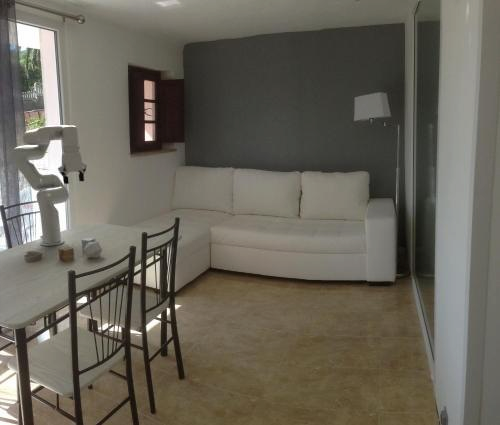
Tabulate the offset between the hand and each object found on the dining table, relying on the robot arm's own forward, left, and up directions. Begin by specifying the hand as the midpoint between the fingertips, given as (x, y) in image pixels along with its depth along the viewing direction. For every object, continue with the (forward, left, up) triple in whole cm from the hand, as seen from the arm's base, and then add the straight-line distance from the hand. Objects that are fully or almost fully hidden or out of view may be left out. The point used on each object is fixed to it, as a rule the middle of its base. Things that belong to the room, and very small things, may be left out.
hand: (74, 182), depth 253 cm
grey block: (+5, +2, -37) cm, 37 cm away
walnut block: (+10, -16, -37) cm, 41 cm away
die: (+18, -6, -37) cm, 42 cm away
